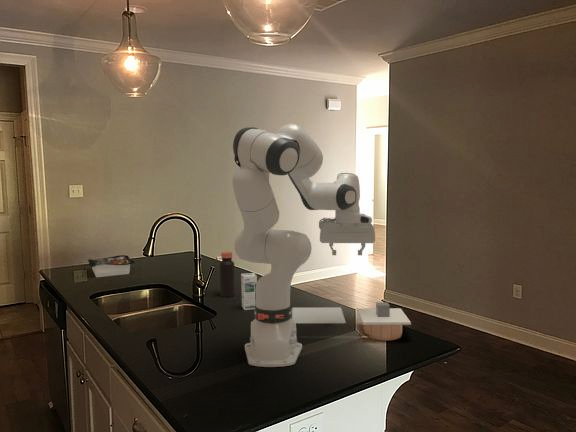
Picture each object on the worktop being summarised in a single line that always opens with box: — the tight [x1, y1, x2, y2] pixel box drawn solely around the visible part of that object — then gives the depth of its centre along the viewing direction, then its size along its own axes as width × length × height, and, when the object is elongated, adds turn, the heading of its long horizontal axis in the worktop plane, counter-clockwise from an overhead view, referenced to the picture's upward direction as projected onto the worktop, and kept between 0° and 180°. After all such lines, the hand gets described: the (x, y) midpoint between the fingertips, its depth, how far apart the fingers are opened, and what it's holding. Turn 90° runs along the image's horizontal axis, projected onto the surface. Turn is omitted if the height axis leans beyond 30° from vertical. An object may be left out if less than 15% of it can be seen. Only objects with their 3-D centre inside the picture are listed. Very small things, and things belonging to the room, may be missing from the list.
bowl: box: [363, 325, 403, 342], centre depth 171 cm, size 13×13×6 cm
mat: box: [291, 306, 347, 324], centre depth 190 cm, size 20×20×1 cm
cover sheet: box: [356, 301, 412, 326], centre depth 170 cm, size 16×16×5 cm
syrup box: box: [240, 272, 258, 311], centre depth 203 cm, size 6×6×14 cm
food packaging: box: [87, 254, 136, 278], centre depth 274 cm, size 25×8×23 cm
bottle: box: [219, 251, 236, 298], centre depth 223 cm, size 7×7×20 cm
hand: (347, 255), depth 178 cm, fingers open, 8 cm apart
